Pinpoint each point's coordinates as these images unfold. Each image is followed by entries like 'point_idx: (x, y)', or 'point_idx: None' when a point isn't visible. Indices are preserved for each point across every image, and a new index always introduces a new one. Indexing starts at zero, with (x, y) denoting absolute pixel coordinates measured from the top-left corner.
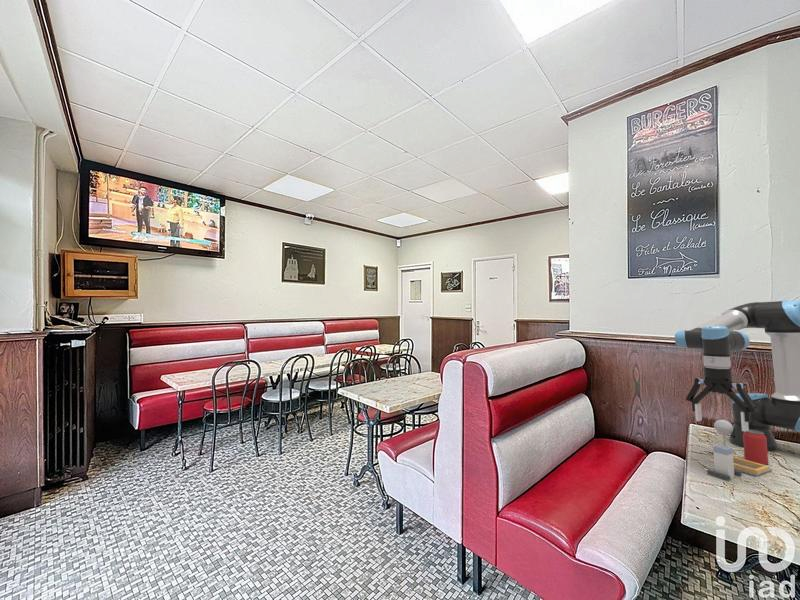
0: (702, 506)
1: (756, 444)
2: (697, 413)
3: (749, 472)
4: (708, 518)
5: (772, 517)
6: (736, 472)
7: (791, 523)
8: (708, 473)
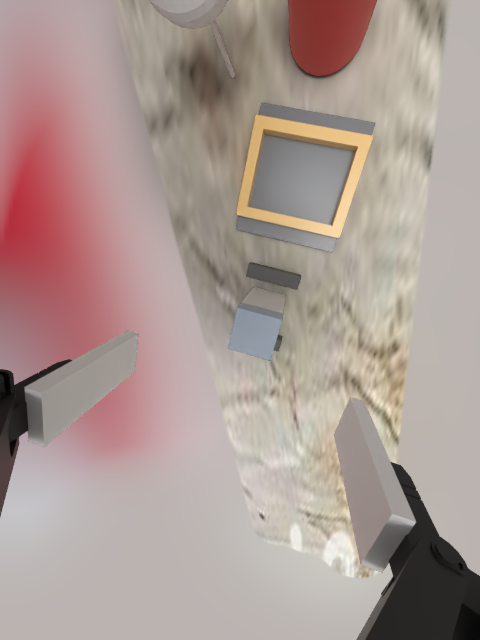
0: (266, 508)
1: (349, 7)
2: (102, 396)
3: (316, 235)
4: (282, 541)
5: None
6: (289, 286)
7: None
8: None
